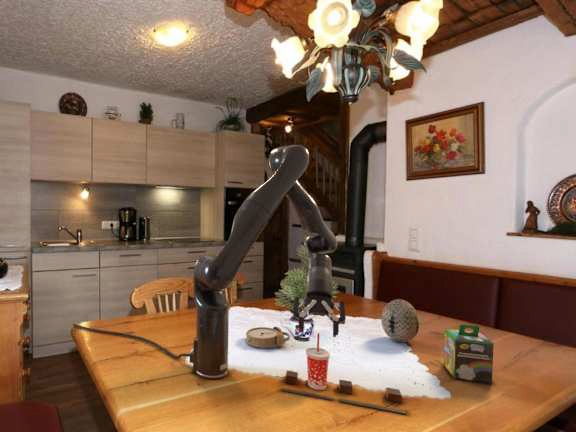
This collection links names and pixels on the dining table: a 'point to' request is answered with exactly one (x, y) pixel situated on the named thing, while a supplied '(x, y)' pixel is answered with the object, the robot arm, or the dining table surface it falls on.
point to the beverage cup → (317, 366)
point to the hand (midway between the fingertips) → (318, 333)
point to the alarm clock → (266, 337)
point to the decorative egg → (400, 320)
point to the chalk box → (468, 354)
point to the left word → (293, 378)
